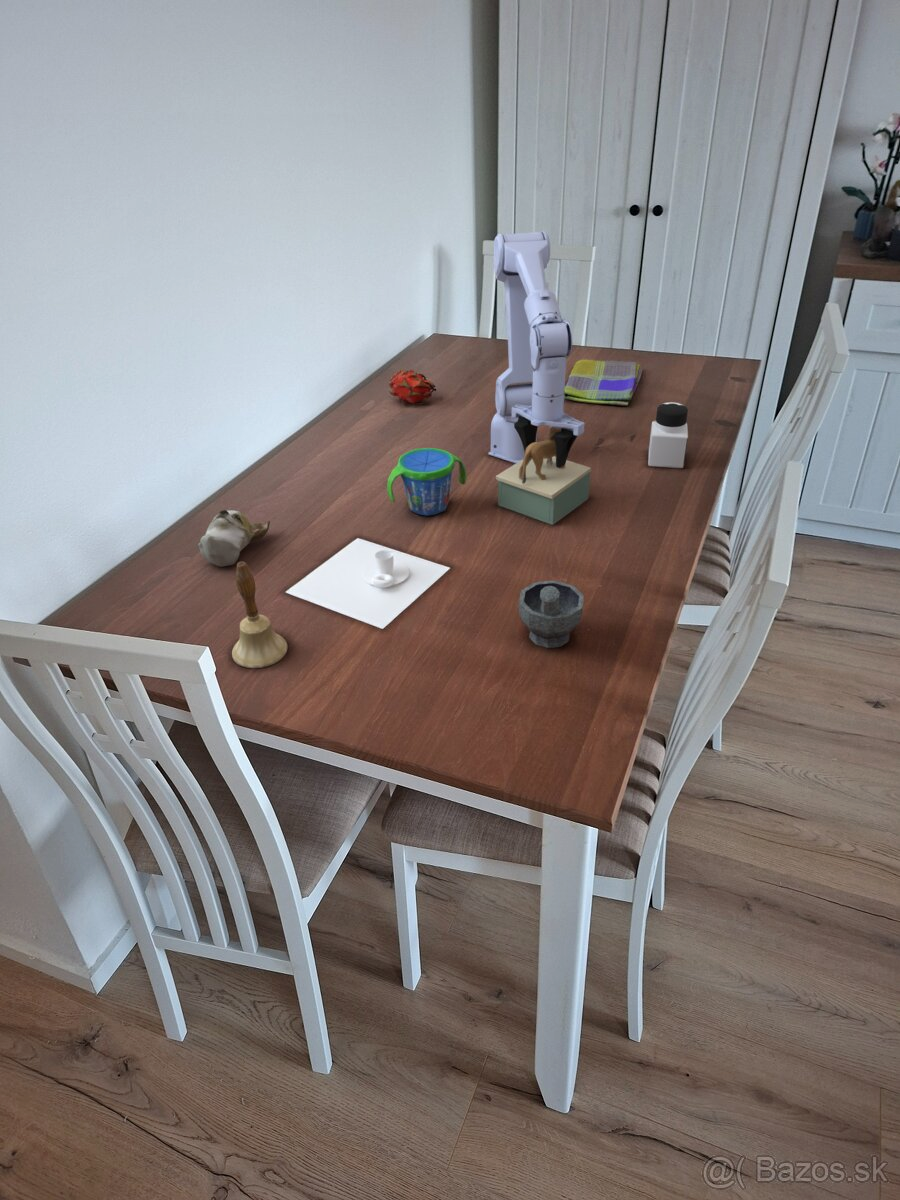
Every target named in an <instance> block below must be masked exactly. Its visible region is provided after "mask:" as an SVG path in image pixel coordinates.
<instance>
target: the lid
mask: <svg viewBox="0 0 900 1200" xmlns="http://www.w3.org/2000/svg"><path fill="white" fill-rule="evenodd" d="M523 460H524V459H522V460H521V461H519V462H517V463H513V465H511V466H509V467H508V468H506V469H505V470H503V471H501V472H499V474H497V475H495V480H496V481H497V482H498V481H501V482H504V483H507V484H510V485H512V486H515V487H518V488H521V489H524V490H527V491H530V492H533V493H536V494H539V495H542V496H545V497H548V498H551V499H552V498H554V497H555V496H557V495H558V494H560V493H561V492H562V491H564V490H565V489H567V488H568V487H569V486H571V485H572V484H574V483H575V482H576V481H578V480H579V479H581V478H582V477H583V476H585V475H586V474H588V473H589V472H591V471H592V468H591V467H590V466H586V465H583V464H581V463H577V462H573V461H570V460H568V459H567V460H566V463H565V468H557V467H556V455H555V456H553V457H552V462H553V464H552V465H547V464H546V462H547V459H543V464H542V467H541V474H544V475H545V476H546V479H540V478H539V477H538V475H537V474H536V473H535V471H536V466H535V464H534V461H533V459H531V461H530V462H529V463H528V465H527V466H526V482H525V483H524V484H523V483H522V481H523V479H520V478H519V469H520V467H521V465H522V463H523ZM591 473H592V472H591Z"/></svg>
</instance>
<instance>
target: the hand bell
mask: <svg viewBox="0 0 900 1200" xmlns="http://www.w3.org/2000/svg"><path fill="white" fill-rule="evenodd" d="M235 584H236V588H237V590H238V594H239V595H240V597H241V598H242V600H243V602H244V603H243V604H244V607H245V615H246V617H244V618H242V620H241V621H240V623H239V638H238V641H236V642H235V644H234V646H233V648H232V650H231V658H232V660H233V662H235V663H236V664H237V665H238V666H240V667H243V668H246V669H262V668H263V669H264V668H267V667H270V666H272V665H275V664H276V663H278V662H279V661H281V660H282V659H283V658H284V657H285V655H286V654H287V652H288V649H289V648H288V643H287V640H286V639H284V637H283V636H281V635H280V634H278V633H276V632H275V631H274V629H273V626H272V624H271V621H270V619H269V618H268V617H267V616H265V615H264V614H260V612H259V610H258V606H257V603H256V581H255V577H254V575H253V572H252V571H251V569H250V568H249V566H248V564H247V562H245V561H239V562H237V563H236V571H235Z"/></svg>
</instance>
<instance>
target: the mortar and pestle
mask: <svg viewBox="0 0 900 1200" xmlns="http://www.w3.org/2000/svg"><path fill="white" fill-rule="evenodd" d="M584 599H585V595H584V594H583V593H582V592H581V591H580V590H579V589H577V587H576V586H575V585H573V584H569V583H566V582H563V581H562V582H561V581H558V580H555V579H553V580H545V581H535V582H533V583H531V584H529V585H528V586H526V587H524V588H523V589H521V590H520V596H519V599H518V613H519V614H518V615H519V619H520V620H521V621H522V623H523V624H524V626H525V627H526V628H527V629H528V630H529V636H528V637H529V639H530V640H531V641H532V642H533V643H534V644H535V645H536V646H539V647H543V648H547V649H553V648H561V647H562V646H564V645H565V644H567V643H568V642H569V641H570V633H571V632H572V631H574V630H575V629H577V627H578V626H579V624H580V623H581V620H582V618H583V610H584Z"/></svg>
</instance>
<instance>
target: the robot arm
mask: <svg viewBox="0 0 900 1200" xmlns="http://www.w3.org/2000/svg"><path fill="white" fill-rule="evenodd" d="M550 240H551V239H550V236H549V235H548V233H547V232H546V231H545V230H540V231H534V232H520V233H504V234H503V233H498V234H496V236H495V238H494V241H493V268H494V269H493V270H494V275H495V280H497V281H500V282H501V283H503V285H504V290H505V299H506V300H505V302H506V303H505V304H506V324H507V327H506V328H507V329H506V330H507V350H508V351H507V352H508V355H507V356H508V368H507V369H506V370H504V372H502V373H501V374H500V375H499V376H498V377H497V378H496V381H495V392H494V394H495V395H494V401H495V409H496V413H495V414H494V415H493V417H492V420H491V424H490V451H488V456H492V457H494V458H498V459H500V460H504V461H507V462H510V463H513V464H516V463H517V462H519V461H521V460H522V459H524V455H525V450H526V448H527V447H528V446H529V445H530V444H531V443H534V442H538V428H539V427H542V426H545V427H550V426H551V427H554V428H558V429H561V432H558V433H557V434H555V435H554V440H555V444H556V455H555V457H556V467H557V468H561V467H562V466H564V465H565V463H566V460H567V461H568V456H569V454H570V451H571V449H572V446H573V444H574V443H575V441H576V439H577V438H578V437H579V436H580V435H582V434H584V432H585V422H584V421H581V420H578V419H577V418H574V417H573V416H570V414H569V415H568V414H567V413H565V412H564V411H565V410H564V409H565V398H564V392H565V386H566V374H567V357H569V356H571V354H572V350H573V332H572V327H571V324H570V322H569V321H568V320H567V319H566V317H562V314H561V311H560V307H559V303H558V300H557V296H556V295H555V293H554V292H553V291H552V290H550V289H548V286H547V285H548V284H547V279H546V275H545V274H546V272H545V269H547V267H548V264H549V262H550V260H551V259H550V258H551V241H550Z"/></svg>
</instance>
